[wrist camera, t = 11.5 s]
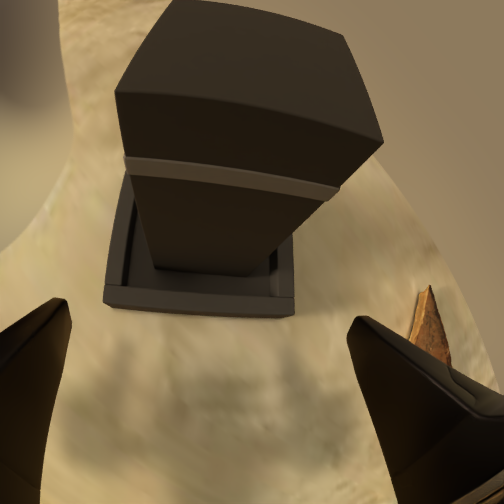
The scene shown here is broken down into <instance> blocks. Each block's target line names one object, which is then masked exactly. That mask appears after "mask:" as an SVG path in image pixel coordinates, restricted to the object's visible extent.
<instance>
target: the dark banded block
mask: <svg viewBox="0 0 504 504" xmlns="http://www.w3.org/2000/svg"><path fill="white" fill-rule="evenodd" d="M114 92H115V100H116V107H117V113H118V119H119V125H120V131H121V136H122V142H123V147H124V152H125V153H124V156H123V158H124V163H125V167H126V172H127V174H129V176H130V180H131V184H132V189H133V193H134V197H135V201H136V205H137V209H138V213H139V217H140V220H141V224H142V228H143V231H144V235H145V238H146V242H147V245H148V249H149V252H150V255H151V259H152V262H153V265H154V268H155V269H161V270H170V271H180V272H190V273H200V274H211V275H222V276H233V277H244V278H246V277H247V276H248V275H249V274H250V273H251V272H252V271H253V270H254V269H255V268H256V267H258V266H259V265H260V264H261V263H262V262H263V261H264V260H265V259H266V258H267V257H268V256H269V255H270V254H271V253H272V252H273V251H274V250H275V249H276V248H277V247H278V246H279V245H280V244H282V243H283V242H284V241H285V240H286V239H287V238H288V237H289V236H290V235H291V234H292V233H293V232H294V231H295V230H296V229H297V228H298V227H299V226H300V225H301V224H302V223H303V222H304V221H305V220H306V219H307V218H308V217H309V216H310V215H311V214H313V213H314V212H315V211H316V210H317V209H318V208H319V207H320V206H321V205H322V204H323V203H324V202H325V201H329V200H330V199H331V198H332V197H333V196H334V195H335V194H336V193H337V192H338V191H339V190H340V186H341V185H342V184H343V183H344V182H345V181H346V180H347V179H348V178H349V177H350V176H351V175H352V174H353V173H354V172H355V171H356V170H357V169H358V168H359V167H360V166H361V165H362V164H363V163H364V162H365V161H366V160H367V159H368V158H369V157H370V156H371V155H372V154H373V153H374V152H375V151H376V150H377V149H378V148H379V147H380V146H381V145H382V144H383V143H384V140H383V137H382V133H381V130H380V127H379V124H378V121H377V118H376V115H375V112H374V109H373V106H372V103H371V101H370V98H369V95H368V92H367V90H366V87H365V85H364V82H363V79H362V77H361V75H360V72H359V70H358V67H357V65H356V63H355V60H354V58H353V56H352V54H351V51H350V49H349V47H348V45H347V43H346V41H345V39H344V37H343V35H341V34H338V33H336V32H333V31H331V30H328V29H325V28H322V27H319V26H316V25H313V24H310V23H307V22H304V21H301V20H298V19H294V18H291V17H287V16H283V15H280V14H276V13H272V12H267V11H263V10H258V9H254V8H249V7H243V6H238V5H232V4H225V3H218V2H210V1H201V0H172V2H171V3H170V4H169V6H168V7H167V8H166V9H165V11H164V12H163V14H162V15H161V16H160V18H159V19H158V20H157V22H156V23H155V25H154V26H153V27H152V29H151V30H150V32H149V33H148V35H147V36H146V38H145V39H144V41H143V42H142V44H141V46H140V47H139V49H138V50H137V52H136V54H135V55H134V57H133V59H132V60H131V62H130V64H129V65H128V67H127V69H126V71H125V72H124V74H123V76H122V78H121V80H120V81H119V83H118V85H117V87H116V89H115V91H114Z"/></svg>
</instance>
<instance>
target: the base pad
mask: <svg viewBox="0 0 504 504" xmlns="http://www.w3.org/2000/svg"><path fill="white" fill-rule="evenodd" d="M103 303H105V304H107V305H108V306H110V307H112V308H121V309H130V310H140V311H151V312H162V313H174V314H188V315H204V316H223V317H248V318H284V317H288V316H292V315H294V314H295V309H294V263H293V237H292V234H291V235H290V236H289V237H288V238H287V239H286V240H285V241H284V242H283V243H282V244H280V245H279V246H278V247H277V248H276V249H275V250H274V251H273V252H272V253H271V254H270V255H269V256H268V257H267V258H266V259H265V260H264V261H263V262H262V263H261V264H260V265H259V266H258V267H256V268H255V269H254V270H253V271H252V272H251V273H250V274H249V275H248V276H247V277H246V278H244V277H233V276H222V275H211V274H200V273H190V272H180V271H170V270H161V269H155V268H154V265H153V262H152V259H151V255H150V252H149V249H148V245H147V242H146V238H145V235H144V231H143V228H142V224H141V220H140V217H139V213H138V209H137V205H136V201H135V197H134V193H133V189H132V184H131V180H130V176H129V174H127V172H126V171H125V175H124V179H123V183H122V187H121V191H120V196H119V200H118V205H117V209H116V214H115V219H114V224H113V230H112V235H111V241H110V247H109V254H108V260H107V268H106V275H105V285H104V292H103Z"/></svg>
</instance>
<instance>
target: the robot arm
mask: <svg viewBox="0 0 504 504" xmlns="http://www.w3.org/2000/svg"><path fill="white" fill-rule="evenodd" d="M71 329H72V320H71V316H70V312H69V307H68V303H67V301H66V300H65V299H62V298H52V299H50V300H49V301H47V302H46V303H44V304H43V305H41V306H39V307H38V308H36V309H35V310H33V311H32V312H30V313H29V314H27V315H26V316H24V317H23V318H21V319H20V320H18V321H17V322H15V323H14V324H12V325H11V326H9V327H8V328H6V329H5V330H3V331H2V332H1V333H0V504H40V489H41V478H42V469H43V462H44V455H45V448H46V442H47V437H48V431H49V426H50V421H51V417H52V412H53V408H54V404H55V399H56V395H57V392H58V388H59V384H60V380H61V377H62V373H63V368H64V363H65V358H66V352H67V347H68V343H69V338H70V333H71ZM347 344H348V348H349V351H350V355H351V359H352V362H353V366H354V370H355V374H356V377H357V380H358V383H359V386H360V389H361V391H362V394H363V397H364V400H365V402H366V405H367V408H368V411H369V414H370V416H371V419H372V422H373V425H374V428H375V431H376V434H377V437H378V440H379V443H380V446H381V449H382V452H383V455H384V458H385V461H386V464H387V468H388V471H389V474H390V477H391V481H392V484H393V488H394V491H395V495H396V498H397V502H398V504H504V395H501V394H499V393H497V392H495V391H493V390H491V389H489V388H487V387H485V386H483V385H482V384H480V383H478V382H476V381H474V380H472V379H470V378H469V377H467V376H465V375H463V374H462V373H460V372H458V371H457V370H455V369H453V368H452V367H450V366H449V365H447V364H445V363H444V362H442V361H440V360H439V359H437V358H436V357H434V356H432V355H431V354H429V353H428V352H426V351H424V350H423V349H421V348H419V347H418V346H416V345H415V344H413V343H411V342H410V341H408V340H406V339H405V338H403V337H402V336H400V335H398V334H397V333H395V332H393V331H392V330H390V329H389V328H387V327H385V326H384V325H382V324H380V323H379V322H377V321H375V320H374V319H372V318H371V317H369V316H357V317H356V318H355V319H354V321H353V323H352V325H351V327H350V329H349V331H348V333H347Z"/></svg>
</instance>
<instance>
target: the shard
mask: <svg viewBox="0 0 504 504" xmlns="http://www.w3.org/2000/svg"><path fill="white" fill-rule="evenodd" d="M409 341H410V342H411V343H413V344H415V345H416V346H418V347H419V348H421V349H423V350H424V351H426V352H428V353H429V354H431V355H432V356H434V357H436V358H437V359H439V360H440V361H442V362H444V363H445V364H447V365H449V366H450V367H452V366H451V356H450V351H449V346H448V341H447V338H446V334H445V331H444V326H443V324H442V321H441V317H440V315H439V313H438V309H437V306H436V302H435V298H434V294H433V292H432V288H431V285H429V286H428V287H427V289H426V290H425V291H424V292H421V293H420V294H419V303H418V306H417V309H416V313H415V321H414V325H413V329H412V332H411V336H410V339H409Z"/></svg>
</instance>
